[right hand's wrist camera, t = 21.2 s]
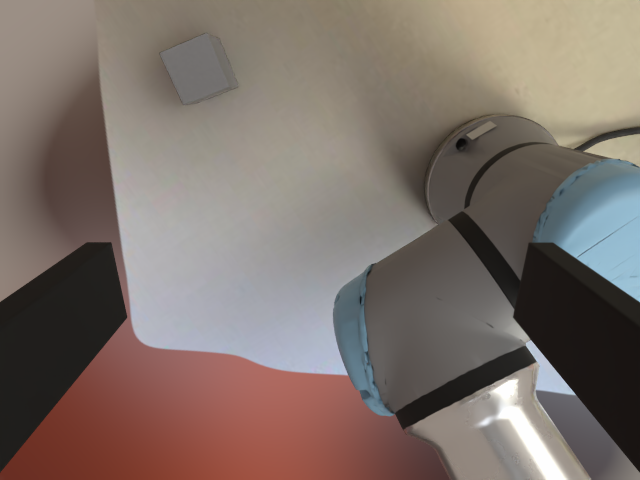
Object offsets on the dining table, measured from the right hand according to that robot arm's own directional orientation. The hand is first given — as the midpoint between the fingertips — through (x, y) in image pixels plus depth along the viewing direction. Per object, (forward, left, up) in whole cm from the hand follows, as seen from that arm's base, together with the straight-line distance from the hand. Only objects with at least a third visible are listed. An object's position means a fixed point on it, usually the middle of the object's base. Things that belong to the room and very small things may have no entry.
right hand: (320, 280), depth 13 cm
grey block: (+12, -7, -35) cm, 37 cm away
